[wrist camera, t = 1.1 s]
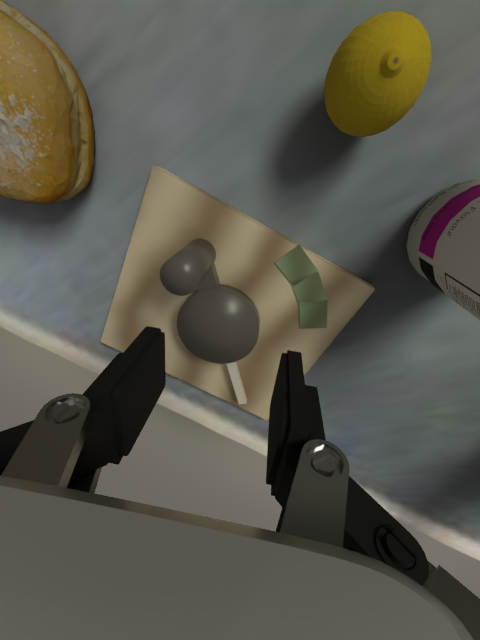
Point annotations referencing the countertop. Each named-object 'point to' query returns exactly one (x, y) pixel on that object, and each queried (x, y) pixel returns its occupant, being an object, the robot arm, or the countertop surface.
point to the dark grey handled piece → (211, 310)
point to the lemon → (377, 73)
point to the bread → (41, 116)
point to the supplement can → (450, 243)
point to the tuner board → (237, 271)
